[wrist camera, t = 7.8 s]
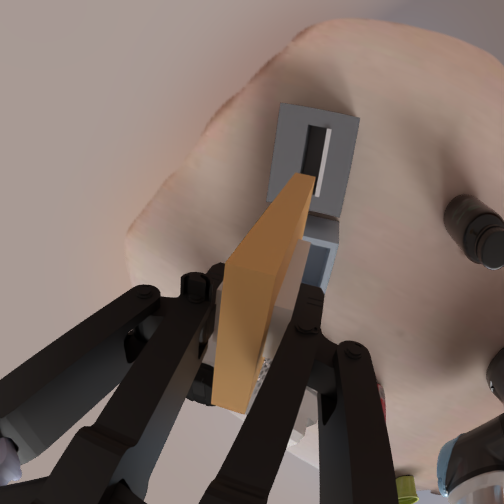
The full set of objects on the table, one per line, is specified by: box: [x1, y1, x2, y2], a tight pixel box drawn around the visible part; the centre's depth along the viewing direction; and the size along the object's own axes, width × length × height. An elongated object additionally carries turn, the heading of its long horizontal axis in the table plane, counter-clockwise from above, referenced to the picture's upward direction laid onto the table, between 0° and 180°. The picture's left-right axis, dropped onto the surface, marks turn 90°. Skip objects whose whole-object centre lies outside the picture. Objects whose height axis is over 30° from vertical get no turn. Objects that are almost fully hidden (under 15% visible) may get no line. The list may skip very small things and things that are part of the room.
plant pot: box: [396, 476, 419, 504], centre depth 63 cm, size 9×9×9 cm
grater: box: [245, 358, 318, 447], centre depth 45 cm, size 10×10×20 cm
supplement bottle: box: [444, 194, 504, 270], centre depth 31 cm, size 7×7×12 cm
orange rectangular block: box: [211, 172, 316, 415], centre depth 17 cm, size 7×2×15 cm, turn 172°
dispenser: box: [266, 103, 360, 218], centre depth 36 cm, size 12×9×6 cm
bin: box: [301, 215, 339, 294], centre depth 42 cm, size 8×11×8 cm
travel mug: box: [186, 333, 217, 406], centre depth 44 cm, size 6×7×20 cm
